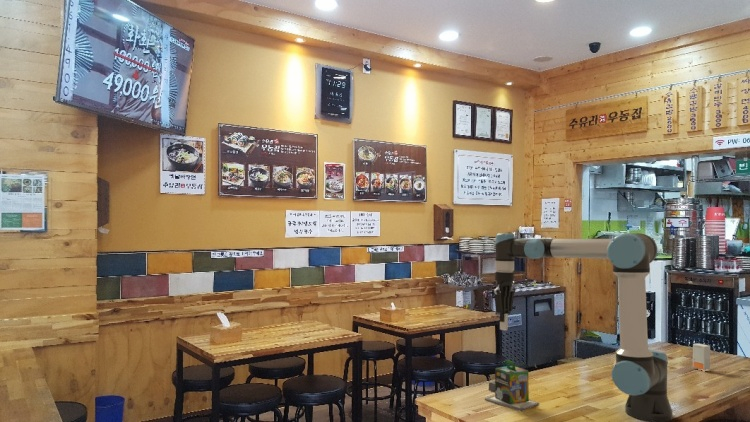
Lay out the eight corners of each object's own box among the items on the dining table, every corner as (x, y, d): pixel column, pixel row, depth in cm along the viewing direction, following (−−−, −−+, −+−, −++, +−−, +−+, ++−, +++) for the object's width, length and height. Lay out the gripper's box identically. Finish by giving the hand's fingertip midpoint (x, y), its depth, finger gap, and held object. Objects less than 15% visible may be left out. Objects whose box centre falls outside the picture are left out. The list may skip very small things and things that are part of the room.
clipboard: (540, 404, 206) (540, 401, 206) (521, 411, 198) (521, 408, 198) (503, 394, 219) (503, 391, 219) (484, 400, 211) (484, 396, 211)
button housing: (517, 390, 223) (517, 383, 223) (505, 394, 218) (505, 387, 218) (500, 386, 229) (500, 378, 229) (488, 389, 224) (488, 382, 224)
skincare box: (692, 369, 263) (692, 343, 264) (698, 368, 265) (698, 343, 265) (704, 372, 258) (704, 346, 258) (710, 371, 260) (710, 345, 260)
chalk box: (529, 401, 207) (529, 362, 207) (509, 404, 203) (510, 364, 203) (513, 394, 215) (513, 356, 215) (494, 397, 211) (494, 358, 212)
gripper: (506, 270, 232) (505, 326, 231) (487, 271, 223) (486, 330, 222) (521, 271, 226) (520, 329, 226) (502, 272, 217) (501, 333, 217)
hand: (503, 329), depth 224 cm, fingers closed
